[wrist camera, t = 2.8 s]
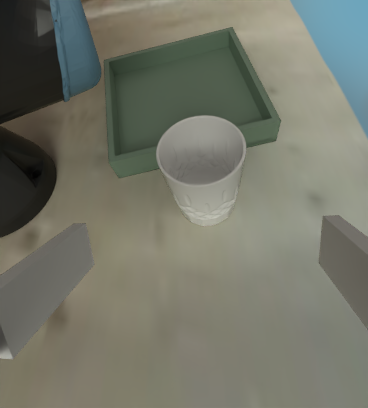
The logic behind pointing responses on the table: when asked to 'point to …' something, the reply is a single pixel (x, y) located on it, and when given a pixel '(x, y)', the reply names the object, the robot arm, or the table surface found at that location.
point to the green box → (181, 96)
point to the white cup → (203, 166)
